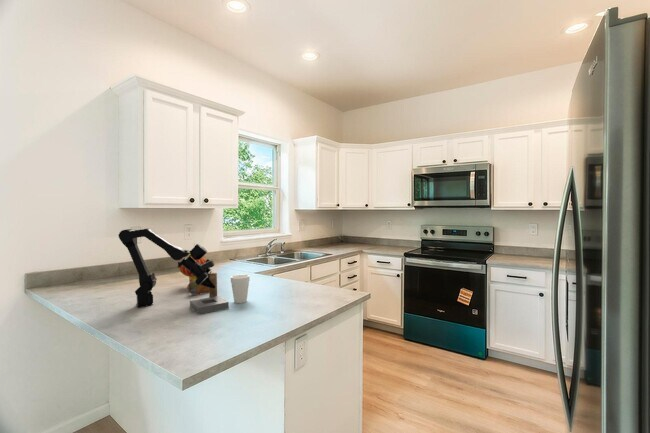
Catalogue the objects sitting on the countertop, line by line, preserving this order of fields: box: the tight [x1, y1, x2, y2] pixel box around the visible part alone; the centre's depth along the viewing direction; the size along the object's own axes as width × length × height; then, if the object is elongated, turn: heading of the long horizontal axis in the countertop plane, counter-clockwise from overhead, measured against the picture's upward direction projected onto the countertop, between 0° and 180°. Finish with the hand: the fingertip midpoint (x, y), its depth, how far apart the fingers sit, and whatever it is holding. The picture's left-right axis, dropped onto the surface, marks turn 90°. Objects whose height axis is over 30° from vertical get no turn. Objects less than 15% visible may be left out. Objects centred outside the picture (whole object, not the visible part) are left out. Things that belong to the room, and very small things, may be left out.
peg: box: [208, 272, 218, 297], centre depth 165 cm, size 4×4×14 cm
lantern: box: [178, 254, 207, 284], centre depth 195 cm, size 17×17×30 cm
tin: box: [187, 280, 209, 296], centre depth 179 cm, size 15×3×8 cm, turn 143°
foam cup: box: [230, 273, 250, 304], centre depth 162 cm, size 10×9×13 cm
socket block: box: [189, 295, 230, 315], centre depth 152 cm, size 14×14×3 cm
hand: (215, 286), depth 166 cm, fingers open, 7 cm apart
